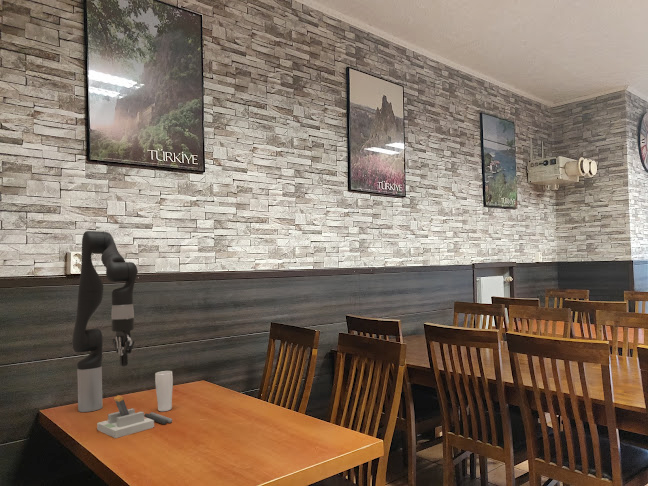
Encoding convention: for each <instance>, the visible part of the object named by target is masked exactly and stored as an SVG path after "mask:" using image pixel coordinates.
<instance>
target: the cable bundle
mask: <svg viewBox="0 0 648 486" xmlns="http://www.w3.org/2000/svg"><path fill="white" fill-rule="evenodd" d="M144 417H147V418H149V419H152V420H154V423H155V422H156V423H158V424H161V425H167V423H169V424H171V423H172V422H173V419H172V418H171V417H167V416H165V415H162V414H159V413H156V412H153V411H151V412H149V413H144Z"/></svg>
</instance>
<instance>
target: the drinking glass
mask: <svg viewBox="0 0 648 486" xmlns="http://www.w3.org/2000/svg"><path fill="white" fill-rule="evenodd" d="M154 379H155V381H154V383H155V393H156V401H157V410H158V412H168V411H171V410H172V409H173V402H172V401H173V384H174V380H173V379H174V377H173V370H164V371H157V372H155V374H154Z"/></svg>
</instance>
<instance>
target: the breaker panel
mask: <svg viewBox="0 0 648 486" xmlns="http://www.w3.org/2000/svg"><path fill="white" fill-rule="evenodd" d="M127 410H128V412H129V415H125V416H122V417H121V415H120V412H119V411H117V412H111V413H107V420H103V421H100V422H97V424H96V426H97V427H96V429H97V431H99V432H100V433H103V434H105V435H107V436H109V437H112V438H114V439H117V438H121V437H126V436H129V435H133V434H136V433H139V432H143V431H146V430H150V429H153V427H154V428H155V421H154V420H152V419H149V418H147V417H144V415H145V412H144V411H138V412H136V410H135V408H127Z"/></svg>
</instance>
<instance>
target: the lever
mask: <svg viewBox="0 0 648 486" xmlns="http://www.w3.org/2000/svg"><path fill="white" fill-rule="evenodd" d="M113 400H114V402H115V405H116V407H117V410H118V412H120V415H121V417H122V416H125V415H129V412H128V407H127V404H126V403H125V399H124V397H123V396H121V395H118V394H117V395H116V396H115V397H113Z"/></svg>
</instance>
